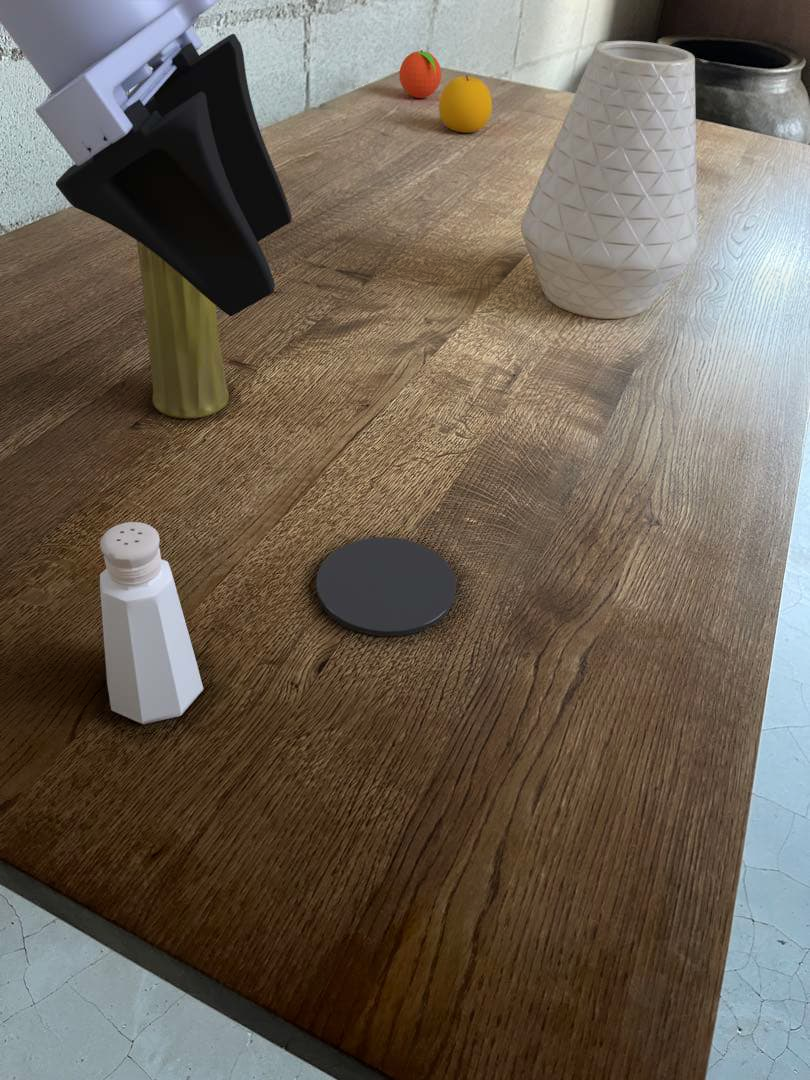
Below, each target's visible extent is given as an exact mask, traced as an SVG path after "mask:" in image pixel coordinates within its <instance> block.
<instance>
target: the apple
mask: <svg viewBox="0 0 810 1080" xmlns="http://www.w3.org/2000/svg"><path fill="white" fill-rule="evenodd" d="M491 95H492V94H491V92H490V90H489V88H488V87H487V85H486V84H485V83H484V81H482V80H481V79H479V78H477V77H473V76H468V75H465V76H457V77H455V78H453V79H452V80H450V81H449V82H447V84H446V85H445V87H444V88H443V90H442V91H441V94H440V97H439V103H438V112H439V117H440V119H441V121H442V123H443V124H444V126H446V128H448V129H449V130H451V131H454V132H457V133H467V134H469V133H475V132H478V131H479V130H482V129H483V128H484V127H485V126H486V125H487V123H488V122H489V119H490V117H491V114H492V111H493V110H492V109H493V104H492V103H493V101H492V96H491Z"/></svg>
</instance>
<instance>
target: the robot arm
mask: <svg viewBox="0 0 810 1080" xmlns="http://www.w3.org/2000/svg"><path fill="white" fill-rule="evenodd" d="M218 2H219V0H0V24H1V26H3V28H4V29H5V31H6V32H7V34H8V35H9V36H10V37H11V39H12V40H13V42H14V43H15V44H16V46H17V47H18V48H19V50H20V51H21V52H22V54H23V55H24V57H25V58H26V59H27V61H28V62H29V64H31V67H33V69H34V70H35V71H36V73H37V74H38V76H39V77H40V78H41V80H42V81H43V82H44V84H45V85H46V86H47V88H48V90H50V92H49V93H48V94H47V96H46V99H44V101H43V102H42V103H40V104H39V105H38V106H37V107H36V108H35V112H36V114H37V115H38V117H39V118H40V120H41V121H42V122H43V123H44V125H45V126H46V127H47V128H48V129H49V130H50V132H51V133H52V135H53V136H54V137H55V139H56V140H57V142H58V143H59V144H60V146H61V147H62V148H63V150H65V152H66V154H67V155H68V156H69V157H70V159H71V160H72V161H73V163H74V164H73V165H71V166H70V167H68V169H66V171H65V172H64V173H62V175H61V176H60V177H59V178H58V179H57V180H56V181H55V187H56V188H57V189H58V190H59V191H60V193H61V194H62V196H64V198H65V199H66V201H67V202H68V203H69V204H70V205H71V206H72V207H74V208H75V209H77V210H80V211H82V212H83V213H86V214H89V215H91V216H93V217H94V218H95V217H96V218H97V219H100V220H101V221H103V222H106V223H107V224H109V225H111V226H113V227H114V228H116V229H118V230H119V231H122V232H123V233H124V234H126V235H127V236H129V237H131V238H132V239H134V240H136V242H137V241H139V242H140V243H142V244H143V245H144V246H146V247H147V248H148V249H150V250H151V251H153V252H154V253H155V254H156V255H158V256H159V257H160V258H161V259H163V260H164V261H165V262H166V263H167V264H169V265H170V266H171V267H172V268H173V269H175V270H176V271H177V272H178V273H179V274H180V275H182V276H183V277H184V278H185V279H186V280H187V281H188V282H189V283H191V284H192V285H193V286H194V287H195V288H196V289H197V290H199V291H200V292H201V293H202V294H203V295H204V296H205V297H207V298H208V299H209V300H210V301H211V302H212V303H214V304H215V305H216V308H218V309H219V310H220V311H222V312H223V313H224V314H226V315H228V316H229V317H234V316H235V315H236V314H238V313H241V312H242V311H243V310H246V309H248V308H249V307H251V306H253V305H255V304H257V303H258V302H260V301H262V300H263V299H265V298H267V297H268V296H271V295H272V294H273V293H274V291H275V288H276V283H275V280H274V276H273V273H272V271H271V268H270V266H269V263H268V260H267V258H266V256H265V254H264V252H263V249H262V248H261V245H260V244H259V242H260V241H261V240H263V239H265V238H267V237H269V236H270V235H272V234H273V233H275V232H277V231H279V230H281V229H282V228H284V227H285V226H287V225H288V224H290V223H292V219H293V216H292V212H291V209H290V206H289V202H288V199H287V197H286V195H285V192H284V189H283V186H282V184H281V181H280V179H279V176H278V174H277V171H276V168H275V166H274V164H273V161H272V159H271V156H270V154H269V151H268V148H267V146H266V144H265V143H266V142H265V141H264V139H263V136H262V133H261V130H260V127H259V123H258V121H257V117H256V114H255V111H254V106H253V102H252V98H251V94H250V89H249V84H248V79H247V72H246V63H245V56H244V50H243V46H242V44H241V42H240V40H239V38H238V37H237V35H236V34H235V33H231V34H230V35H228V36H226V37H224V38H223V39H221V40H219V41H217V43H215V44H213V45H212V46H211V47H209V48H208V49H206V50H205V51H203V52H202V53H199V52H198V50H199V49H201V48H202V47H203V42H202V39H201V38H200V37H199V35H198V34H197V32H196V30H195V29H194V27H193V26H194V25H195V24H196V23H197V22H198V21H199V18H200V16H201V15H202V14H203V13H205V12H207V11H208V10H209V9H211V8H212V7H213V6H215V4H217V3H218ZM129 91H130V92H129ZM128 92H129V93H128ZM127 93H128V94H127Z"/></svg>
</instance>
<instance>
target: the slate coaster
mask: <svg viewBox="0 0 810 1080" xmlns="http://www.w3.org/2000/svg"><path fill="white" fill-rule="evenodd" d="M315 590H316V596H317V599H318V601H319V604H320V605H321V607H322V608H323V610H324V611H325V612H326V613H327V614H328V616H330V617H331V618H332V619H333V620H334V621H336V622H337V623H339V624H340V625H341V626H343V627H346V628H347V629H349V630H352V631H355V632H358V633H361V634H365V635H369V636H375V637H385V638H386V637H387V638H388V637H389V638H390V637H391V638H393V637H402V636H410V635H413V634H418V633H420V632H423V631H425V630H427V629H429V628H432V627H433V626H435V625H436V624H438V623H439V622H440V621H442V620H443V619H444V618H445V617H446V616H447V615H448V613H450V610H451V609H452V607H453V605H454V603H455V599H456V594H457V580H456V577H455V575H454V572H453V570H452V568H451V567H450V565H449V563H448V562H447V561H446V560H445V559H443V558H442V556H440V555H439V554H438V553H437V552H435V551H434V550H432V549H431V548H428V547H427V546H426V545H423V544H421V543H417V542H414V541H411V540H407V539H404V538H398V537H388V536H385V537H383V536H382V537H368V538H362V539H359V540H355V541H351V542H349V543H347V544H344V545H342V546H340V547H338V548H337V549H335V550H333V551H332V553H330V554H329V555H328V556H327V557H326V558H325V559H324V561H322V563H321V564H320V567H319V568H318V571H317V574H316V579H315Z"/></svg>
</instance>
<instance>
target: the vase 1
mask: <svg viewBox="0 0 810 1080" xmlns="http://www.w3.org/2000/svg"><path fill="white" fill-rule="evenodd" d="M136 246H137V247H136V248H137V253H138V254H137V255H138V260H139V269H140V276H141V284H142V296H143V305H144V306H143V307H144V314H145V315H144V316H145V324H146V336H147V347H148V356H149V366H150V374H151V382H152V405H153V406H154V408H155V409H156V410H157V411H158V412H159V413H161V414H162V415H164V416H167V417H171V418H175V419H181V420H194V419H195V420H196V419H201V418H206V417H209V416H212V415H214V414H216V413H218V412H220V411H221V410H222V409H224V407H225V406H226V405H228V402H229V397H230V395H229V389H228V385H227V379H226V375H225V368H224V362H223V356H222V350H221V342H220V333H219V326H218V316H217V306H216V305H215V304H214V303H212V302H211V301H210V300H209V299H208V298H207V297H205V296H204V295H203V294H202V293H201V292H200V291H199V290H197V289H196V288H195V287H194V286H193V285H192V284H191V283H189V282H188V281H187V280H186V279H185V278H184V277H183V276H182V275H180V274H179V273H178V272H177V271H176V270H175V269H173V268H172V267H171V266H170V265H169V264H167V263H166V262H165V261H164V260H163V259H161V258H160V257H159V256H158V255H156V254H155V253H154V252H153V251H151V250H150V249H148V248H147V247H146V246H144V245H143V244H142V243H140V242H139V241H137V240H136Z"/></svg>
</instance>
